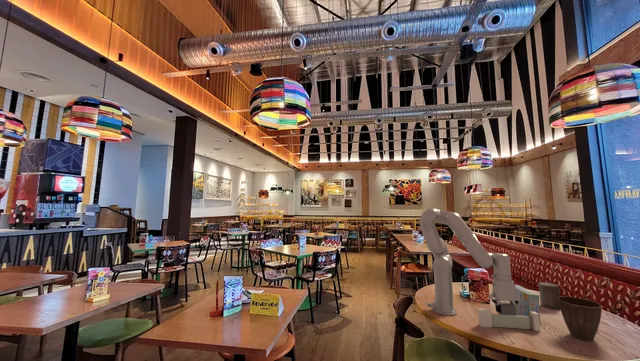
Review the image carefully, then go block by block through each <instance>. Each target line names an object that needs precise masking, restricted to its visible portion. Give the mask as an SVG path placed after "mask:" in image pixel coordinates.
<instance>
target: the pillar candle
mask: <svg viewBox="0 0 640 361" xmlns="http://www.w3.org/2000/svg"><path fill="white" fill-rule="evenodd" d="M538 288H539V289H538V291H539V304H540V306H541V307H542V308H545V309H549V310H553V311H555V310H556V311H561V310H560V306H559V302H558V297H561V293H560V285H558V284H557V283H556V284H555V283H551V282H544V281H543V282H538Z"/></svg>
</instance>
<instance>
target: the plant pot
mask: <svg viewBox="0 0 640 361" xmlns="http://www.w3.org/2000/svg"><path fill="white" fill-rule="evenodd" d="M558 302H559V306H560V310H559V311H560V312H561V315H562V318H563V321H564V323H565V325H566V327H567V329H568V331H569V333H570V335H571V336H572V337H574V338H576V339H579V340H582V341H587V342H592V341H594V340H595V337H596V335H597V332H598V329H599V327H600V322H601V317H602V311H603V310H602V309H603V305H601V303H598V302H597V301H596V302H595V301H594V300H593V301H592V300H590V299H585V298H580V297H574V296H560V297H558Z"/></svg>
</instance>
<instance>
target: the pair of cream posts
mask: <svg viewBox="0 0 640 361" xmlns="http://www.w3.org/2000/svg"><path fill="white" fill-rule="evenodd" d="M477 310H478V325H479V326H480V328H481V327H482V328H493V326H492V317H491V314H492V311H491V309H489V308H478V309H477ZM530 316H531V319H532V329H531V330H532V331H534V332H541V325H540V323H541V319H540V320H539V314H538V313H536V312H531V311H530Z"/></svg>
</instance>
